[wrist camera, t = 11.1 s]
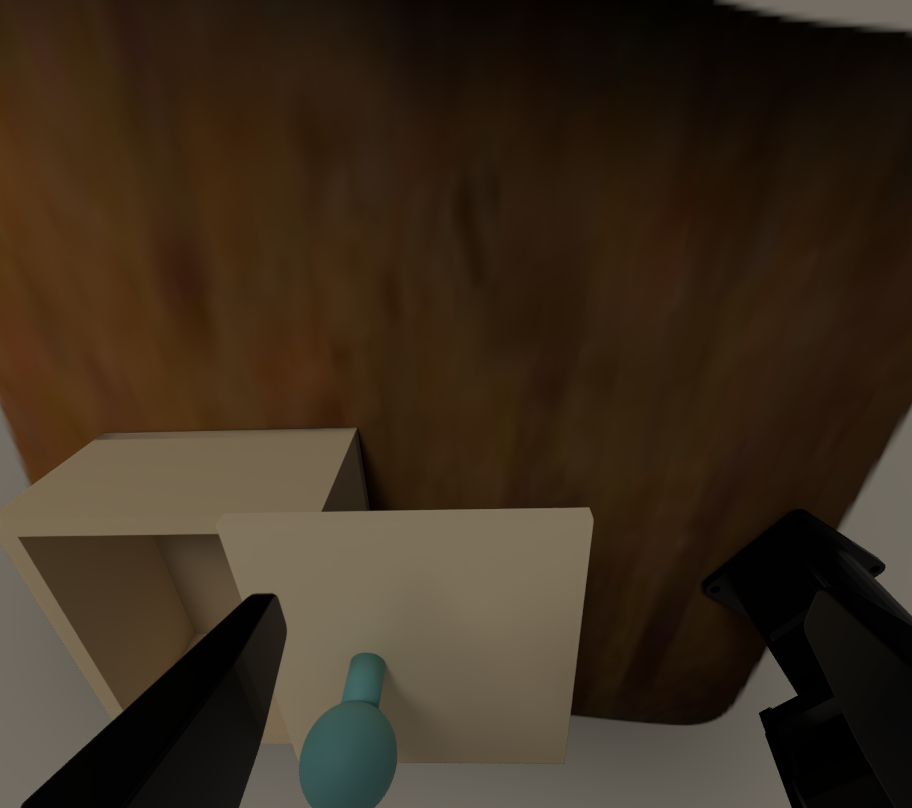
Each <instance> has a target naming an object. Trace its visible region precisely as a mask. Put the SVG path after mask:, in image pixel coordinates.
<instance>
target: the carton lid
mask: <svg viewBox="0 0 912 808" xmlns="http://www.w3.org/2000/svg"><path fill="white" fill-rule="evenodd" d="M593 521H594V520H593V517H592V514H591V511H590V508H535V509H471V510H407V511H344V512H280V513H224V514H223V515H222V517H221V518H220V520H219V521H218V523H217V524H216V528H217V531H218V534H219V537H220V539H221V542H222V545H223V548H224V551H225V554H226V557H227V559H228V562H229V565H230V568H231V571H232V574H233V577H234V579H235V582H236V585H237V588H238V591H239V594H240V596H241V599H242V602H243V601H244V600H245V599H246V598H247V597H248V596H250V595H252V594H255V593H274V594H276V595H277V596H278V598H279V601H280V604H281V608H282V611H283V614H284V618H285V621H286V625H287V637H286V642H285V647H284V651H283V655H282V659H281V663H280V668H279V672H278V676H277V680H276V684H275V689H274V693H275V696H276V699H277V702H278V705H279V708H280V710H281V713H282V716H283V719H284V722H285V725H286V727H287V730H288V733H289V736H290V739H291V742H292V745H293V747H294V750H295V753H296V756H297V758H298V762H299V776H300V783H301V787H302V790H303V793H304V795H305V798H306V800H307V801H308V803H309V804H310V806H311V807H312V808H374V807H375V806H376V805H377V804H378V803H379V802H380V801H381V800H382V798H383V797H384V796H385V794H386V792H387V791H388V789H389V787H390V784H391V782H392V780H393V777H394V774H395V770H396V765H397V763H526V764H527V763H528V764H537V763H538V764H564V763H565V755H566V746H567V737H568V729H569V721H570V713H571V705H572V696H573V688H574V680H575V671H576V663H577V654H578V646H579V638H580V629H581V621H582V613H583V604H584V596H585V588H586V579H587V571H588V562H589V554H590V546H591V537H592V529H593Z"/></svg>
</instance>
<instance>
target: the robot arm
mask: <svg viewBox="0 0 912 808" xmlns="http://www.w3.org/2000/svg"><path fill="white" fill-rule="evenodd" d="M884 570H885V564H884V563H883V562H882V561H881V560H880V559H879V558H877V557H876V556H874V555H873V554H871V553H870V552H868V551H867V550H865V549H864V548H862V547H861V546H859V545H857V544H856V543H855V542H853V541H851V540H849V539H848V538H847V537H845V536H844V535H842V534H841V533H839V532H838V531H836V530H835V529H833V528H832V527H830V526H829V525H827V524H825V523H824V522H822V521H821V520H819V519H818V518H816V517H815V516H813V515H812V514H810V513H809V512H807V511H806V510H803V509H796V510H793V511H791V512H790V513H789V514H787V515H786V516H785V517H784V518H782V519H781V520H780V521H778V522H777V523H776V524H775V525H773V526H772V527H771V528H770V529H768V530H767V531H766V532H765V533H763V534H762V535H761V536H760V537H758V538H757V539H756V540H755V541H753V542H752V543H751V544H750V545H748V546H747V547H746V548H745V549H743V550H742V551H741V552H740V553H738V554H737V555H736V556H735V557H733V558H732V559H731V560H729V561H728V562H727V563H726V564H724V565H723V566H722V567H721V568H719V569H718V570H717V571H716V572H714V573H713V574H712V575H711V576H709V577H708V578H707V579H706V580H705V581H704V582H703V584H702V586H703V588H704V590H705V592H706V594H707V595H709V596H711V597H712V598H714V599H716V600H718V601H720V602H721V603H723V604H725V605H727V606H729V607H730V608H732V609H734V610H736V611H738V612H739V613H741V614H743V615H745V616H747V617H749V618H750V619H751V621H752V622H753V624H754V625H755V627H756V629H757V630H758V632H759V633H760V635H761V637H762V638H763V640H764V641H765V643H766V645H767V646H768V648H769V649H770V651H771V653H772V654H773V656H774V657H775V659H776V661H777V662H778V664H779V665H780V667H781V669H782V670H783V672H784V673H785V675H786V676H787V678H788V680H789V682H790V683H791V685H792V686H793V688H794V690H795V691H796V693H797V695H798V696H796V697H794V698H792V699H790V700H788V701H786V702H785V703H783V704H781V705H779V706H777V707H775V708H773V709H772V708H770V707H769V708H767V709H765V710H763V711H762V712H760V713H759V715H760V718H761V721H762V724H763V726H764V729H765V732H766V733H765V735H766V738H767V741H768V744H769V747H770V749H771V752H772V755H773V758H774V760H775V763H776V766H777V769H778V771H779V774H780V777H781V779H782V782H783V785H784V788H785V791H786V793H787V796H788V798H789V801H790V804H791V807H792V808H912V616H911V615H910V614H909V613H908V612H907V611H906V610H905V609H904V608H903V607H902V606H901V605H900V604H899V603H898V602H897V601H896V600H895V599H894V598H893V597H892V596H891V594H889V592H887V590H886V589H885V588H884V587H883V586H882V585H881V584H880V583H879V582H877V580H876V579H875V577H876V576H878V575H879V574H881V573H882V572H883V571H884ZM286 637H287V625H286V621H285V618H284V614H283V611H282V608H281V604H280V601H279V598H278V596H277V595H276V594H274V593H255V594H252V595H250V596H248V597H247V598H246V599H245V600H244V601H243V602H241V603H240V604H239V605H238V606H237V607H236V608H235V609H234V610H233V611H232V612H231V613H229V614H228V615H227V616H226V617H225V618H224V619H223V620H222V621H221V622H220V623H219V624H217V625H216V626H215V627H214V628H213V629H212V630H211V631H210V632H209V633H208V634H207V635H205V636H204V637H203V638H202V639H201V640H200V641H199V642H198V643H197V644H196V645H195V646H194V647H192V648H191V649H190V650H189V651H188V652H187V653H186V654H185V655H184V656H183V657H182V658H180V659H179V660H178V661H177V662H176V663H175V664H174V665H173V666H172V667H171V668H170V669H168V670H167V671H166V672H165V673H164V674H163V675H162V676H161V677H160V678H159V679H158V680H156V681H155V682H154V683H153V684H152V685H151V686H150V687H149V688H148V689H147V690H146V691H144V692H143V693H142V694H141V695H140V696H139V697H138V698H137V699H136V700H135V701H134V702H133V703H131V704H130V705H129V706H128V707H127V708H126V709H125V710H124V711H123V712H122V713H121V714H119V715H118V716H117V717H116V718H115V719H114V720H113V721H112V722H111V723H110V724H109V725H107V726H106V727H105V728H104V729H103V730H102V731H101V732H100V733H99V734H98V735H97V736H96V737H94V738H93V739H92V740H91V741H90V742H89V743H88V744H87V745H86V746H85V747H84V748H82V749H81V750H80V751H79V752H78V753H77V754H76V755H75V756H74V757H73V758H72V759H70V760H69V762H67V763H66V764H65V765H64V766H63V767H62V768H61V769H60V770H59V771H57V772H56V773H55V774H54V775H53V776H52V777H51V778H50V779H49V780H48V781H46V782H45V783H44V784H43V785H42V786H41V787H40V788H39V789H38V790H37V791H36V792H35V793H33V794H32V795H31V796H30V797H29V798H28V799H27V800H26V801H25V802H24V803H23V804H22V805H21V808H239V806H240V803H241V799H242V797H243V794H244V791H245V788H246V785H247V782H248V779H249V776H250V773H251V771H252V767H253V765H254V762H255V759H256V756H257V753H258V750H259V746H260V743H261V740H262V737H263V734H264V730H265V726H266V722H267V718H268V714H269V710H270V705H271V701H272V697H273V693H274V689H275V684H276V680H277V676H278V672H279V668H280V663H281V659H282V655H283V651H284V647H285V642H286Z"/></svg>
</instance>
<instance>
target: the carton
mask: <svg viewBox="0 0 912 808" xmlns="http://www.w3.org/2000/svg"><path fill="white" fill-rule="evenodd" d="M344 511H370V508H369V501H368V495H367V488H366V482H365V475H364V469H363V463H362V456H361V450H360V443H359V437H358V430H357V428H318V429H274V430H230V431H187V432H143V433H103V434H102V435H100V436H99V437H97V438H96V439H95V440H93V441H92V442H91V443H89V444H88V445H87V446H85V447H84V448H82V449H81V450H80V451H78V452H77V453H76V454H74V455H73V456H72V457H70V458H69V459H67V460H66V461H65V462H63V463H62V464H61V465H59V466H58V467H57V468H55V469H54V470H52V471H51V472H50V473H48V474H47V475H46V476H44V477H43V478H42V479H40V480H39V481H37V482H36V483H35V484H33V485H32V486H31V487H29V488H28V489H27V490H25V491H24V492H22V493H21V494H20V495H18V496H17V497H16V498H14V499H13V500H12V501H10V502H9V503H7V504H6V505H5V506H3V507H2V508H1V509H0V544H1V545H2V547H3V548H4V550H5V552H6V553H7V555H8V556H9V558H10V559H11V561H12V563H13V564H14V566H15V567H16V569H17V571H18V572H19V574H20V575H21V577H22V578H23V580H24V582H25V583H26V585H27V586H28V588H29V590H30V591H31V593H32V594H33V596H34V597H35V599H36V600H37V602H38V603H39V605H40V607H41V608H42V610H43V612H44V613H45V615H46V616H47V618H48V619H49V621H50V623H51V624H52V626H53V627H54V629H55V630H56V632H57V634H58V635H59V637H60V638H61V640H62V641H63V643H64V645H65V646H66V648H67V649H68V651H69V653H70V654H71V656H72V657H73V659H74V660H75V662H76V664H77V665H78V667H79V668H80V670H81V671H82V673H83V675H84V676H85V678H86V679H87V681H88V683H89V684H90V686H91V687H92V689H93V690H94V692H95V694H96V695H97V697H98V698H99V700H100V701H101V703H102V705H103V706H104V708H105V709H106V711H107V713H108V714H109V716H110V717H111V719H112V720H114V719H115V718H116V717H117V716H118V715H119V714H121V713H122V712H123V711H124V710H125V709H126V708H127V707H128V706H129V705H130V704H131V703H133V702H134V701H135V700H136V699H137V698H138V697H139V696H140V695H141V694H142V693H143V692H144V691H146V690H147V689H148V688H149V687H150V686H151V685H152V684H153V683H154V682H155V681H156V680H158V679H159V678H160V677H161V676H162V675H163V674H164V673H165V672H166V671H167V670H168V669H170V668H171V667H172V666H173V665H174V664H175V663H176V662H177V661H178V660H179V659H180V658H182V657H183V656H184V655H185V654H186V653H187V652H188V651H189V650H190V649H191V648H192V647H194V646H195V645H196V644H197V643H198V642H199V641H200V640H201V639H202V638H203V637H204V636H205V635H207V634H208V633H209V632H210V631H211V630H212V629H213V628H214V627H215V626H216V625H217V624H219V623H220V622H221V621H222V620H223V619H224V618H225V617H226V616H227V615H228V614H229V613H231V612H232V611H233V610H234V609H235V608H236V607H237V606H238V605H239V604H240V603H241V602H242V599H241V596H240V594H239V591H238V588H237V585H236V582H235V579H234V577H233V574H232V571H231V568H230V565H229V562H228V559H227V557H226V554H225V551H224V548H223V545H222V542H221V539H220V537H219V534H218V531H217V528H216V524H217V523H218V521H219V520H220V518H221V517H222V515H223V514H224V513H280V512H344ZM261 743H292V742H291V739H290V736H289V733H288V730H287V727H286V725H285V722H284V719H283V716H282V713H281V710H280V708H279V705H278V702H277V699H276V696H275V693H273V697H272V701H271V705H270V710H269V714H268V718H267V722H266V726H265V730H264V734H263V737H262V740H261Z"/></svg>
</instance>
